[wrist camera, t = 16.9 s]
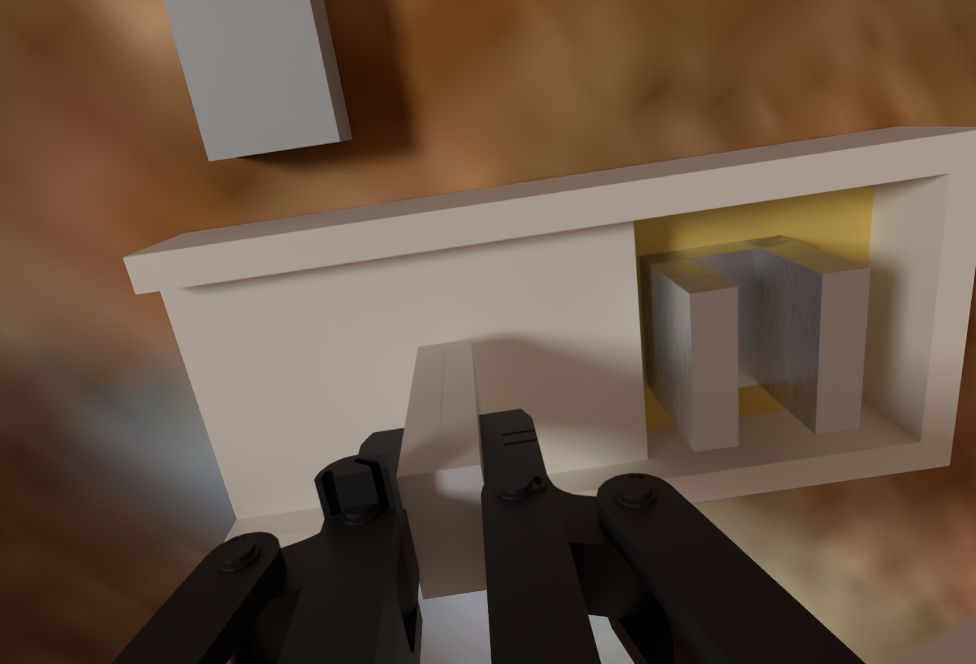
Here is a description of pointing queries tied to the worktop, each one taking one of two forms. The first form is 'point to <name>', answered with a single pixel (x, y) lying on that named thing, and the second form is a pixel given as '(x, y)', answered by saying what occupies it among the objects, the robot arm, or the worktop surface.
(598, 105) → the worktop surface
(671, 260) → the clip
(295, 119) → the grey tall rectangular block
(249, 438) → the box with sliding lid
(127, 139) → the worktop surface
